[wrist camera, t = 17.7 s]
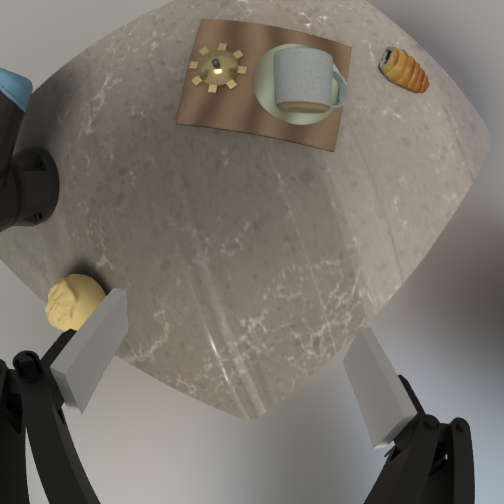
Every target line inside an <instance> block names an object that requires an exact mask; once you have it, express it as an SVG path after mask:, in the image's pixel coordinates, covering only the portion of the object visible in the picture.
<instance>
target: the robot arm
mask: <svg viewBox="0 0 504 504" xmlns="http://www.w3.org/2000/svg"><path fill="white" fill-rule="evenodd" d="M32 90H33V87H32V83H31V81H30V80H29V79H27V78H25V77H23V76H20V75H18V74H15V73H13V72H10V71H7V70H5V69H1V68H0V232H1V231H3V230H5V229H7V228H9V227H11V226H35V225H38V224H40V223H42V222H44V221H46V220H47V219H48V218H49V217H50V216H51V214H52V213H53V211H54V209H55V206H56V203H57V199H58V193H59V180H58V173H57V169H56V166H55V163H54V161H53V159H52V158H51V156H50V155H49V154H48V153H47V152H46V151H45V150H43V149H41V148H38V147H34V148H26V149H23V150H21V151H20V152H18V153H16V154H15V155H13V156H12V154H13V150H14V146H15V143H16V139H17V136H18V132H19V129H20V126H21V123H22V120H23V117H24V114H26V112H27V109H26V108H27V105H28V102H29V99H30V96H31V93H32ZM127 332H128V318H127V301H126V291H125V290H121V289H117V288H113V289H112V291H111V292H110V293H109V294H108V295H107V296H106V297H105V299H104V300H103V301H102V302H101V303H100V304H99V305H98V307H97V308H96V309H95V310H94V311H93V313H92V314H91V315H90V316H89V317H88V319H87V320H86V321H85V322H84V323H83V325H82V326H81V327H80V328H79V330H78V331H76V330H74V329H71V328H70V329H69V330H67V331H65V332H63V333H62V334H61V335H60V337H59V338H58V339H57V341H55V343H54V344H53V345H52V346H51V347H50V349H49V350H48V351H47V352H46V354H45V355H44V356H43V358H42V359H41V360H40V359H39V356H38V355H37V354H36V353H35V352H33V351H22V352H20V353H18V354H17V355H16V356H15V357H14V359H13V366H14V368H15V370H13V369H8V367H7V366H6V363H5V362H4V361H3V360H2V359H0V504H30V502H29V495H28V487H27V476H26V458H25V433H26V431H25V430H26V428H27V433H28V438H29V442H30V446H31V450H32V454H33V457H34V461H35V464H36V468H37V471H38V474H39V477H40V480H41V483H42V485H43V488H44V491H45V494H46V496H47V499H48V501H49V503H50V504H100V502H99V500H98V498H97V496H96V494H95V492H94V490H93V488H92V486H91V484H90V482H89V480H88V478H87V476H86V473H85V471H84V469H83V467H82V464H81V462H80V459H79V457H78V455H77V452H76V450H75V447H74V444H73V441H72V438H71V436H70V433H69V430H68V427H67V424H66V420H65V417H64V414H63V410H62V408H61V406H62V404H63V403H64V402H65V404H66V406H67V408H68V409H70V410H72V411H74V412H77V413H79V414H81V415H82V414H83V412H84V410H85V408H86V406H87V404H88V402H89V400H90V398H91V396H92V394H93V392H94V390H95V388H96V387H97V385H98V383H99V381H100V379H101V378H102V376H103V374H104V372H105V370H106V368H107V367H108V365H109V363H110V361H111V360H112V358H113V356H114V354H115V353H116V351H117V349H118V347H119V346H120V344H121V342H122V341H123V339H124V337H125V336H126V334H127ZM343 364H344V367H345V369H346V372H347V374H348V377H349V380H350V382H351V385H352V388H353V390H354V393H355V396H356V399H357V401H358V404H359V407H360V410H361V412H362V415H363V418H364V421H365V424H366V427H367V430H368V433H369V435H370V438H371V441H372V444H373V447H374V449H376V448H382V447H386V446H388V445H389V444H390V443H391V442H392V441H393V440H394V443H395V446H393V447H392V448H391V449H390V450H389V451H388V452H387V453H386V454H385V456H384V457H386V456H387V455H389V456H388V458H387V460H386V463H385V465H384V467H383V469H382V471H381V473H380V475H379V477H378V479H377V481H376V482H375V484H374V486H373V488H372V490H371V492H370V493H369V495H368V497H367V499H366V500H365V502H364V504H474V501H475V482H474V481H475V479H474V461H473V450H472V440H471V432H470V427H469V424H468V423H467V421H466V420H464V419H463V418H460V417H459V418H455V419H453V420H452V422H451V423H450V424H445V423H440V422H439V421H438V419H437V418H436V417H434V416H432V415H429V414H427V415H426V414H425V412H424V410H423V408H422V406H421V404H420V402H419V400H418V399H417V397H416V395H415V393H414V391H413V390H412V389H411V386H410V384H409V382H408V381H407V380H406V379H405V378H404V377H403V376H402V375H397V373H396V372H395V370H394V368H393V366H392V364H391V363H390V361H389V359H388V358H387V356H386V354H385V352H384V350H383V349H382V347H381V345H380V344H379V342H378V340H377V339H376V337H375V335H374V333H373V332H372V330H371V328H367V327H366V328H365V327H359V328H358V331H357V333H356V335H355V337H354V340H353V342H352V344H351V346H350V348H349V350H348V353H347V354H346V356H345V358H344V360H343ZM446 455H447V460H446Z"/></svg>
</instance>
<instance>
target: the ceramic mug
mask: <svg viewBox="0 0 504 504" xmlns="http://www.w3.org/2000/svg"><path fill="white" fill-rule="evenodd" d="M332 77H334V78H335V79H336V80H337V82H338V84H339V96H338V101H337V103H336V104H334V105H331V101H332ZM274 80H275V101H276V105H277V107H278V108H279V109H280V110H282V111H287V112H295V113H325V112H327V111H328V110H329V109H330V108H338V107H341V106H342V105H343V104H344V103H345V102H346V100H347V96H348V87H347V83H346V81H345V79H344V78H343V76H342V75H341V74H340V73H339V72H337V71H336V70H334V69H333V58H332V56H331V55H330V54H328V53H327V52H324V51H322V50H318V49H314V48H308V47H289V48H285V49H281V50H279V51H277V52H276V53H275V54H274Z"/></svg>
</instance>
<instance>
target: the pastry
mask: <svg viewBox="0 0 504 504" xmlns="http://www.w3.org/2000/svg"><path fill="white" fill-rule="evenodd" d="M379 66H380V69H381V71H382V72H383V74H384V75H385V76H386V78H387V79H389V80H390V81H392V82H393V83H394V84H397V85H398V86H401V87H403V88H405V89H407V90H410V91H412V92H415V93H423V92H424V91H426V90H427V88H428V86H429V81H428V78H427V76H426V75H425V72H424V70H423V69H421V68H420V65H419V63H417V62H415V60H414V58H413V57H411V56H408V55H407V53H406V51H404V50H401V49H397V48H396V47H393V46H390V47H388V49H387V51H386V52H385V53H384V55H383V60H382V61H381V62H380V65H379Z"/></svg>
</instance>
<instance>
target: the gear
mask: <svg viewBox="0 0 504 504" xmlns="http://www.w3.org/2000/svg"><path fill="white" fill-rule="evenodd" d="M227 48H228V46H227V44H223V43H219V47H218V50H213V51H210V52H209V50H208V49H207V48H206V47H204V48H202V49H201V50H199V52H200V54H201V55H202V57H201V59H200V60H199V62H190V66H189V69H190V70H193V71H197V73H198V76H197V77H195V78H194V79H192V81H193V83H194V84H195V85H196V86H197V87H199V86H200V85H201V84H203V83H205V84H207V85H209V89H208V93H210V94H217V91H218V87H222V86H225V85H227V87H228V88H229V89H230V90H231V91H232V90H233V89H235V88H236V87H237V84H236V83H235V82H234V79H235V78H236V77H237V75H242V76H246V71H247V67H243V66H239V65H238V61H239V60H241V59H243V58H244V55H243V54H242V52H241V51H240V50H238V51H236V52H235V53H233V54H232V53H230V52H228V51H227Z"/></svg>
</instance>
